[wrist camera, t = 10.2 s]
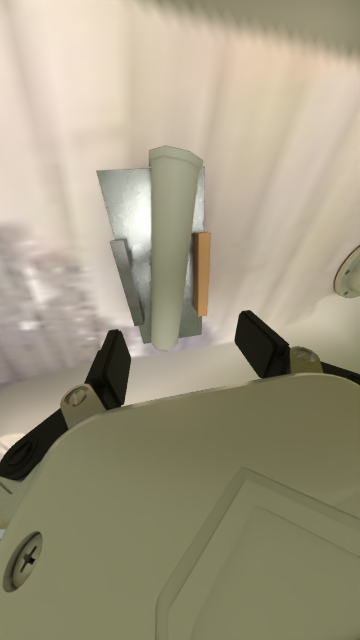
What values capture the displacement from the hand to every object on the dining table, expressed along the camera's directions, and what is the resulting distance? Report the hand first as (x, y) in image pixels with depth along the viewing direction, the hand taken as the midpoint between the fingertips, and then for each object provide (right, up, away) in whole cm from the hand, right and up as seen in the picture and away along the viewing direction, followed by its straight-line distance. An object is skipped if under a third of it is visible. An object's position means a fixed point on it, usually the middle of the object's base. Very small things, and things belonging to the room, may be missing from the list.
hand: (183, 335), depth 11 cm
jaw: (+3, +8, +12) cm, 15 cm away
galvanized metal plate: (-3, +8, +13) cm, 16 cm away
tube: (-2, +8, +12) cm, 15 cm away
